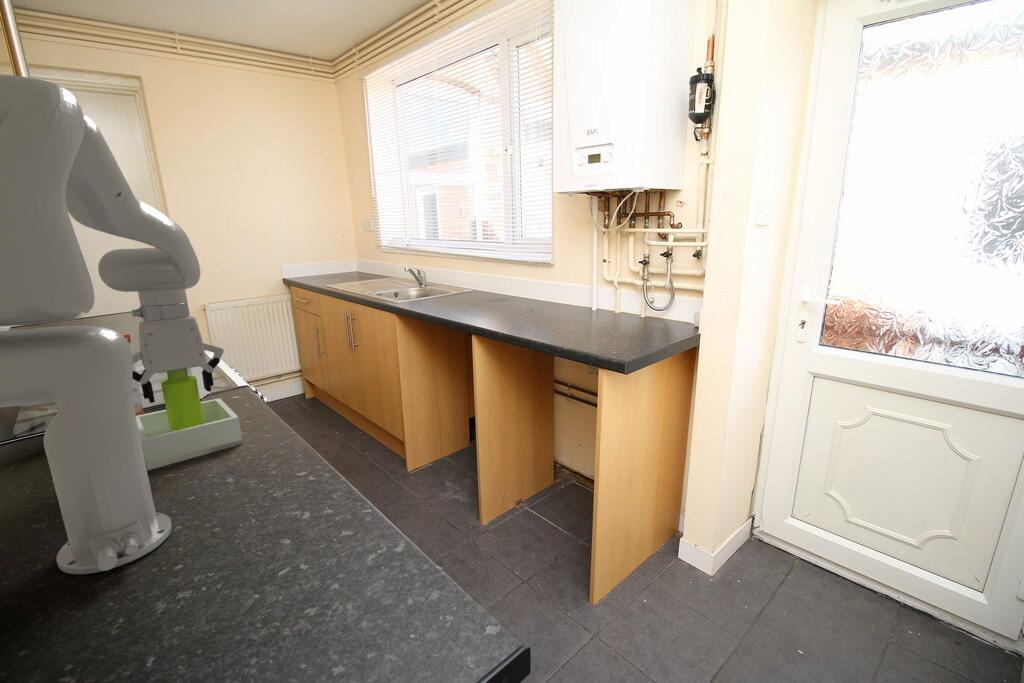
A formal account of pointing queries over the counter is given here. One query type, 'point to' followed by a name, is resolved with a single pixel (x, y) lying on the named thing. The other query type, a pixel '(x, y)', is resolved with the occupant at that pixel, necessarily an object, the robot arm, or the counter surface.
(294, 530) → the counter surface
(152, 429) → the tub
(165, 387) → the soap dispenser
